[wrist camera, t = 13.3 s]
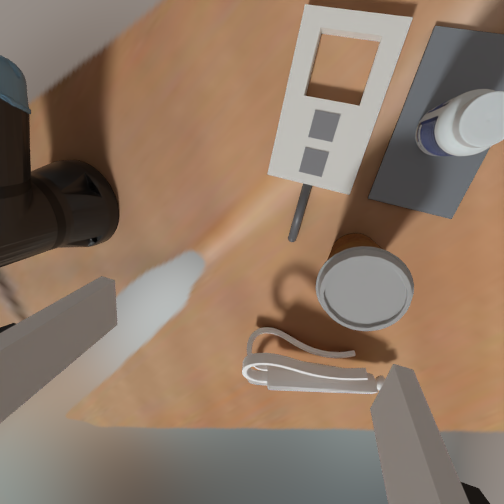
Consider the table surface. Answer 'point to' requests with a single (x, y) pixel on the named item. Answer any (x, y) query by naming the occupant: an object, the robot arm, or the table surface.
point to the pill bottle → (463, 124)
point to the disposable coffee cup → (364, 284)
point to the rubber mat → (422, 101)
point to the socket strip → (332, 105)
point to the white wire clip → (305, 370)
